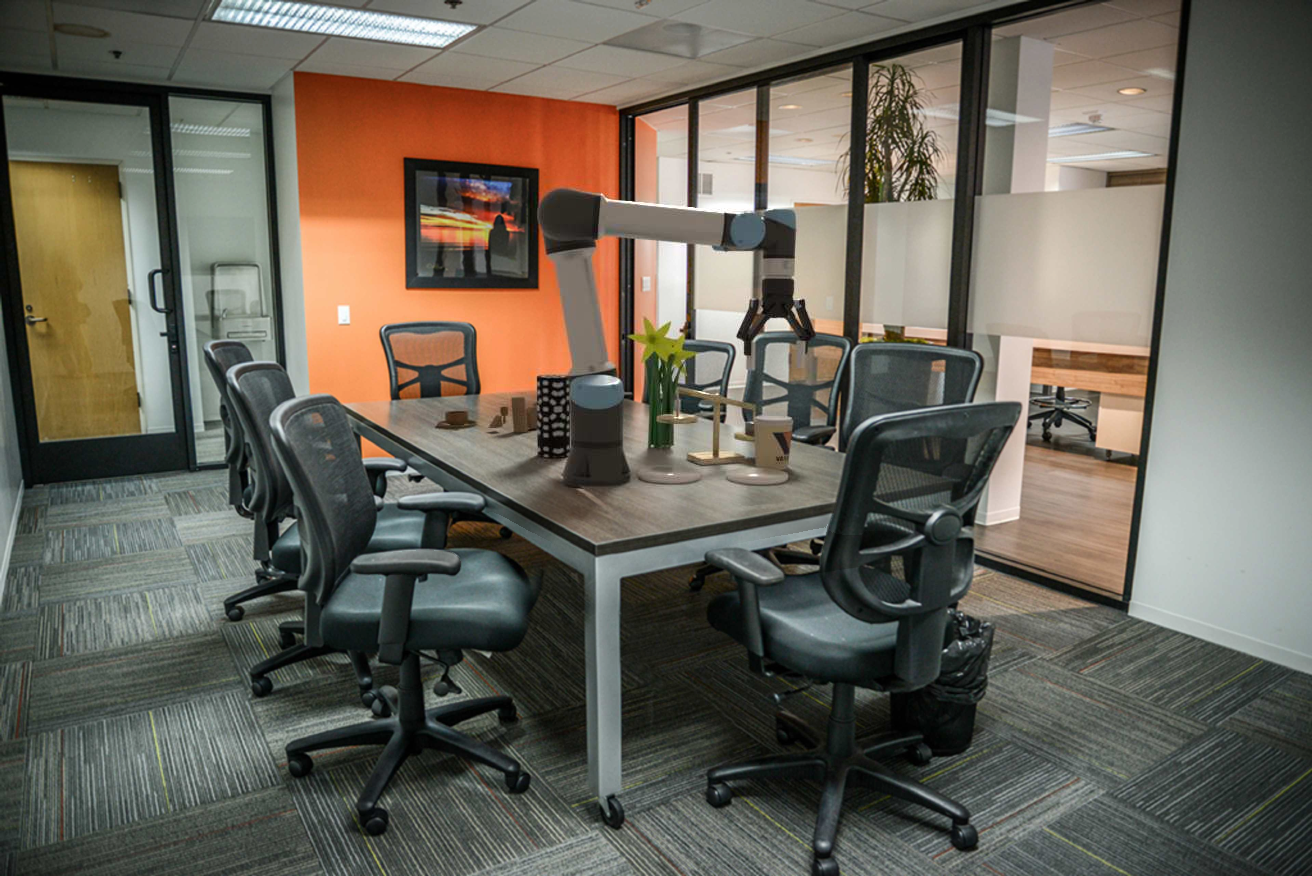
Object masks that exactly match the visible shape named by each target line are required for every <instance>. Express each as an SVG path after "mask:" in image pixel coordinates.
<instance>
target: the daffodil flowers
mask: <svg viewBox="0 0 1312 876" xmlns="http://www.w3.org/2000/svg"><path fill="white" fill-rule="evenodd" d="M642 317H643V318H642V319H643V326H644V331H645V334H643V333H641V334H640V333H636V334H635V333H634V334H629V335H627V338H629V339H631V340H633V341H635V342H637V343H640V344H642V345H644V346H645V348H644V351H643V353H642V357H641V364H644V362H645V367H646V377H647V389H648V405H649V407H648V410H649V412H648V413H649V414H648V415H649V417H648V430H647V431H648V433H647V435H648V436H647V449H652V446H653V447H654V448H657V449H661V448H663V447H664V446H665V447H666V446H668V448H671V447H673V446H675V424H668V423H661V422H658V421H657V416H658V415H664V414H674V412H675V411H674V410H675V404H676V403H675V402H676V397H677V391H676V390H677V387H678V385H679V384H678V383H679V379H680V374H681V373H682V374H683V376H685V377H688V374H687V371H686V369H685V366H684V365H685V363H687V361H688V359H690V358H692V357H693V356H696V355H697V354H699V352H698V351H693V350H691V351H690V350H684V349H683V345H684V342H685V337H686V333H685V332H684V333H683V334H682V335H680V336H679V338H678V339H673V338H670V337H666V335H668V333H669V331H670V327H671V324H672V321H669V322H667V323H665V324H664V325H663V326H661V327H659V328H658V329H657V330H655V328H654V326H653V324H652V323H651V322H650V320H649V319H648V318H647V317H646V316H642ZM652 355H653V358H652V357H651V356H652ZM649 357H650V360H649ZM683 360H684V361H683ZM650 361H651V363H650ZM659 361H660V363H659ZM682 361H683V362H682ZM659 364H660V366H659ZM673 366H674V367H673ZM675 368H677V369H678V370H677V373H676V375H675V377H674V380H673V374H674V372H675ZM661 393H662V394H661ZM661 395H662V398H661Z"/></svg>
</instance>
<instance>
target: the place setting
mask: <svg viewBox="0 0 1312 876" xmlns="http://www.w3.org/2000/svg"><path fill="white" fill-rule="evenodd" d="M499 410H500V416H502V424H507V418H506V417H507V416H508V415H509V406H500V407H499ZM444 414H445V415H444V416H445V418H444V419H445V420H441V421H437V422H436V424H437V427H438V428H440V429H443V431H445V430H446V431H459V430H460V429H467V428H468V429H469V428H473V427H476V426H477V424H478V421H476V420H472V419H470V417H469V415H470V413H469V411H466V410H450V411H449V410H448V411H446V412H445V413H444Z"/></svg>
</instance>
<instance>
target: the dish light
mask: <svg viewBox="0 0 1312 876" xmlns="http://www.w3.org/2000/svg"><path fill="white" fill-rule="evenodd" d="M638 478H639V479H640V480H641V481H645V482H648V483H655V484H667V485H668V484H669V485H671V484H672V485H673V484H674V485H675V484H676V485H677V484H688V483H689V484H690V483H694V482H697V481H700V479H701V472H700V471H699V470H697V469H693V468H690V467H689V468H688V467H682V466H681V467H680V466H654V467H653V466H652V467H647V468H643V469H641V470H639V471H638Z"/></svg>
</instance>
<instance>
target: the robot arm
mask: <svg viewBox="0 0 1312 876" xmlns="http://www.w3.org/2000/svg"><path fill="white" fill-rule="evenodd" d="M537 223H538V225H539V227H540V230H541V232H542V237H543V245H544V249H545V255H546V258H548V259H549V260H551V261H552V262H553V264H554V268H555V274H556V279H557V286H558V291H559V297H560V303H561V308H562V315H563V320H564V325H565V330H566V331H565V332H566V337H567V342H568V348H569V353H570V359H571V368H570V370H569V371H568V372H567V376H568V381H569V387H570V392H569V394H570V452H569V455H568V456H567V459H566V462H565V464H564V469H563V472H562V484H564V485H565V486H568V487H571V488H575V489H584V488H583V487H611V486H620V485H624V484H627V483H628V482H631V480H632V478H631V476H632V473H631V472H632V471H631V469H630V466H629V463H628V459H627V457H626V453H625V450H624V397H625V390H624V384H623V382H622V380H621V379H620V378H619V376H618V370H617V365H616V364H614V363H613V362H612V361H610V360H609V354H608V349H607V344H606V337H605V336H606V335H605V331H604V324H603V319H602V313H601V308H600V307H601V305H600V302H599V301H600V300H599V295H598V288H597V283H596V278H595V277H596V276H595V271H594V266H593V258H592V257H593V255H594V254H595V252H596V250H597V243H596V241H600V240H601V239H602V238H603V237H615V238H623V239H624V238H625V239H634V240H644V241H645V240H647V241H657V242H670V243H680V244H689V245H690V244H691V245H699V246H700V245H701V246H709V247H710V246H711V247H712V250H713V251H715V252H724V253H727V252H762V264H761V266H762V267H761V275H762V277H764V278H762V279H761V295H762V296H761V299H759V298H750V299H749V303H748V308H747V311H746V313H745V315H744V318H743V320H742V322H741V325H740V326H739V329H738V331H737V333H736V336H735V337H736V339H738V340H740V341H742V342H743V356H746V359H745V360H746V362H745V363H746V365H745V370H747V371H748V370H749V371H756V342H755V341H753V340H754V339H755V338H756V336H757V335H758V334H759V332H760V331H761V329H762V328H763V327H764V326H765V325H766V324H767V322H768V321H769V320H770V319H784V320H786V321H787V323H788V324H789V326H790V328H791V329H792V331H793V332H794V333H795V335H796V336H797V338H799V340H796V347H795V348H796V349H795V369H801V370H802V369H803V370H804V369H805V367H806V366H805V365H806V355H807V354H808V351H809V342H810V341H811V340H812V339H814V338H816V335H817V334H816V331H815V330H814V329H815V328H814V327H813V323H812V321H811V318H810V316H809V313H808V311H807V309H806V299H804V298H796V299H794V294H795V280H794V278H792V277H795V266H796V259H795V258H796V242H797V241H796V240H797V238H796V237H797V231H798V229H797V216H796V212H795V211H794V210H792V209H788V208H769V209H766V210H764V211H763V215H762V217H761V216H760V215H759V214H757V213H756V212H751V211H742V212H738V211H737V212H736V211H725V210H716V209H707V208H699V207H696V208H695V207H687V206H677V205H676V206H675V205H665V204H655V203H645V202H635V201H626V200H617V199H616V200H615V199H608V198H607V197H606V196H605V195H604V194H603V193H595V192H588V191H583V190H578V189H573V188H569V187H557V188H555V189H552V190H550V191H549V192H547V193H545V195H544V196H543V197H542V199H541V201H540V202H539V205H538V208H537ZM760 307H761V308H762V310H761V312H760V313H759V315H758V317H757V318H756V316H757V314H758V311H759V309H760ZM793 308H795V311H796V313H797V316H798V318H797V317H796V314H795V313H794V311H793V310H792V309H793ZM755 318H756V320H755ZM798 319H799V320H798ZM754 320H755V321H754Z"/></svg>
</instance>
